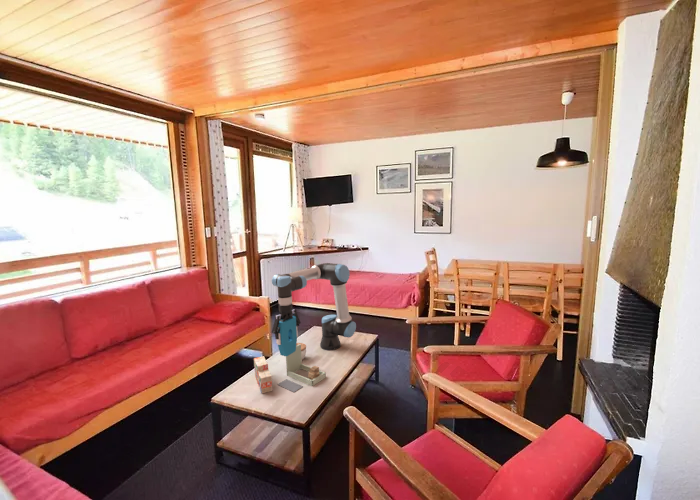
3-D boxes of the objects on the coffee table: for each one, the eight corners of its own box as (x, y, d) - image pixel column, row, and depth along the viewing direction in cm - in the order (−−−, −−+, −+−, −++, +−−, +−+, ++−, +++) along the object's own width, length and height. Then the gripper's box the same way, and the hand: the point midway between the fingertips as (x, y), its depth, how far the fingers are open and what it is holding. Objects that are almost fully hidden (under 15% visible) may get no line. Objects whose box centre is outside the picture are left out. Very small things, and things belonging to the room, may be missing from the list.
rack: (300, 367, 209) (299, 344, 207) (325, 377, 196) (324, 352, 194) (286, 375, 199) (285, 350, 197) (312, 386, 186) (310, 360, 184)
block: (284, 357, 178) (282, 323, 176) (277, 356, 181) (275, 321, 178) (298, 349, 188) (296, 316, 186) (291, 347, 191) (289, 315, 188)
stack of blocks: (272, 391, 183) (271, 370, 181) (261, 394, 180) (260, 373, 178) (265, 374, 202) (263, 355, 200) (254, 376, 199) (253, 357, 198)
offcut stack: (315, 376, 197) (314, 364, 196) (320, 378, 194) (320, 366, 193) (308, 380, 192) (307, 369, 191) (313, 383, 189) (313, 371, 188)
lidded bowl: (284, 359, 221) (283, 343, 220) (300, 353, 229) (299, 338, 228) (294, 365, 212) (293, 349, 210) (310, 359, 220) (309, 343, 218)
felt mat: (286, 379, 194) (286, 379, 194) (302, 386, 186) (302, 386, 186) (277, 384, 189) (277, 384, 189) (294, 392, 180) (293, 391, 180)
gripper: (296, 297, 193) (298, 332, 195) (263, 308, 173) (266, 346, 176) (305, 299, 188) (307, 334, 191) (272, 310, 169) (275, 349, 172)
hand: (287, 340), depth 184 cm, fingers closed on block, 12 cm apart
